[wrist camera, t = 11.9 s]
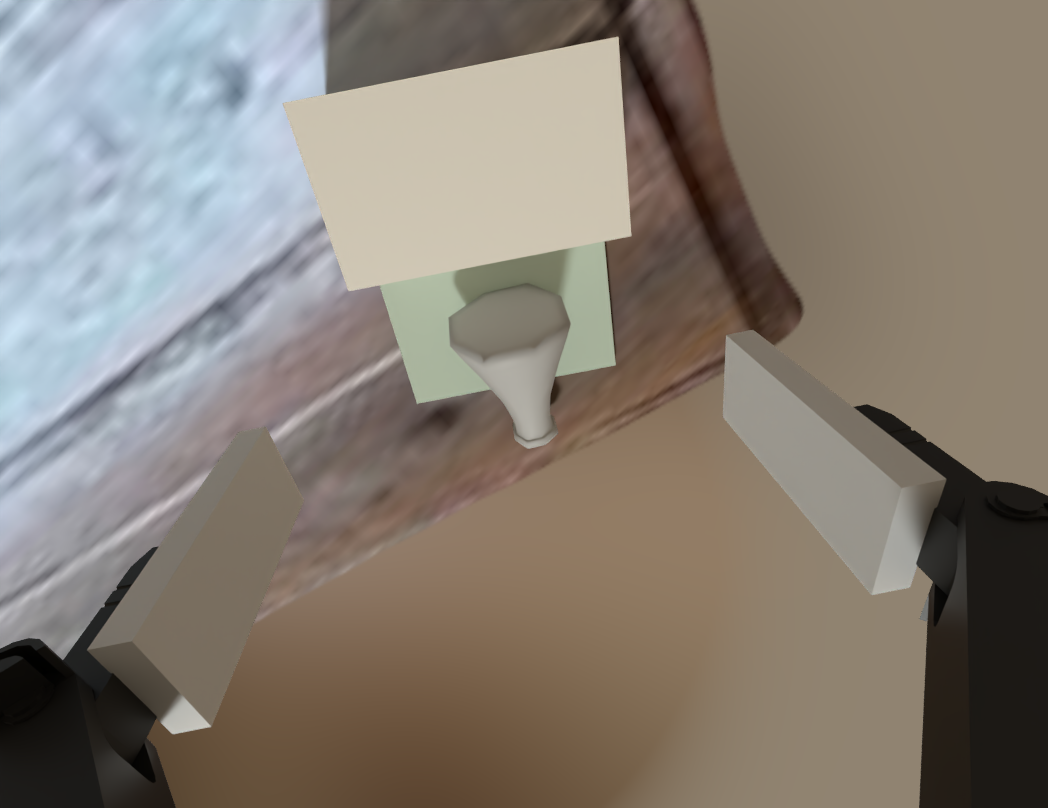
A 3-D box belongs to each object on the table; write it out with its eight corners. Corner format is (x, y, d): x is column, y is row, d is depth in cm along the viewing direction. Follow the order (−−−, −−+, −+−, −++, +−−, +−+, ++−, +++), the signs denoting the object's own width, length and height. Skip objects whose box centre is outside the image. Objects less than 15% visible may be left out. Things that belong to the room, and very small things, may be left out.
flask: (428, 313, 31) (471, 422, 38) (472, 377, 26) (511, 489, 33) (532, 267, 32) (555, 381, 39) (593, 320, 27) (606, 439, 34)
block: (325, 107, 27) (282, 103, 21) (585, 56, 27) (618, 36, 21) (373, 257, 31) (348, 291, 25) (599, 213, 31) (631, 236, 25)
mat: (373, 257, 31) (371, 260, 30) (599, 213, 31) (602, 215, 30) (418, 399, 36) (417, 403, 35) (613, 361, 36) (615, 365, 35)
